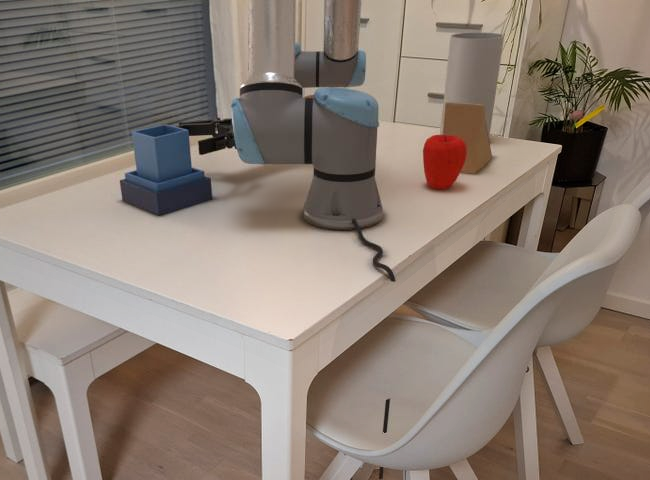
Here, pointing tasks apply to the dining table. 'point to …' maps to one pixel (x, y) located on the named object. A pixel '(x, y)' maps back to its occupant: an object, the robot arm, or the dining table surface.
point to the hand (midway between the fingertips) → (179, 142)
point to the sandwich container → (469, 132)
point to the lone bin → (162, 153)
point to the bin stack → (166, 192)
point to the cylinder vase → (473, 71)
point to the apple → (443, 160)
